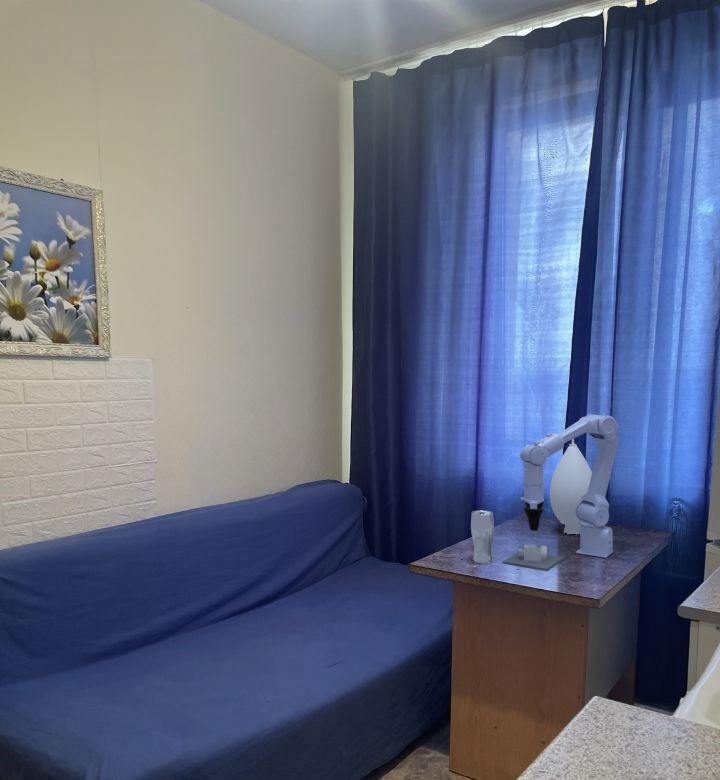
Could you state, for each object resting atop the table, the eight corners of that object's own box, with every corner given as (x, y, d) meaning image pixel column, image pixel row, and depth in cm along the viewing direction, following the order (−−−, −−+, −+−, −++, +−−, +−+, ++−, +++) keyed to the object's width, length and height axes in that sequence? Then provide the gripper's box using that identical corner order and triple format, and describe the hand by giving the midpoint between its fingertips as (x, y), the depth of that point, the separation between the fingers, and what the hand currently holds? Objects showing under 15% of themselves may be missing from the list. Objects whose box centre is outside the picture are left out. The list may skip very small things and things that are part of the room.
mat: (563, 559, 198) (563, 557, 198) (547, 571, 187) (547, 569, 187) (520, 552, 207) (520, 550, 207) (502, 563, 195) (502, 561, 195)
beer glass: (467, 559, 200) (466, 511, 200) (486, 556, 203) (486, 509, 202) (479, 565, 194) (478, 515, 193) (498, 562, 196) (498, 513, 196)
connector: (547, 558, 197) (547, 545, 197) (547, 561, 194) (546, 548, 194) (518, 556, 200) (518, 544, 200) (518, 559, 196) (517, 546, 196)
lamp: (541, 532, 231) (541, 435, 230) (565, 525, 241) (564, 432, 240) (582, 541, 219) (582, 438, 218) (605, 532, 230) (604, 435, 229)
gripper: (521, 479, 207) (521, 521, 207) (519, 487, 193) (520, 532, 193) (544, 480, 205) (544, 522, 205) (543, 488, 191) (544, 533, 191)
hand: (534, 527), depth 199 cm, fingers open, 7 cm apart
